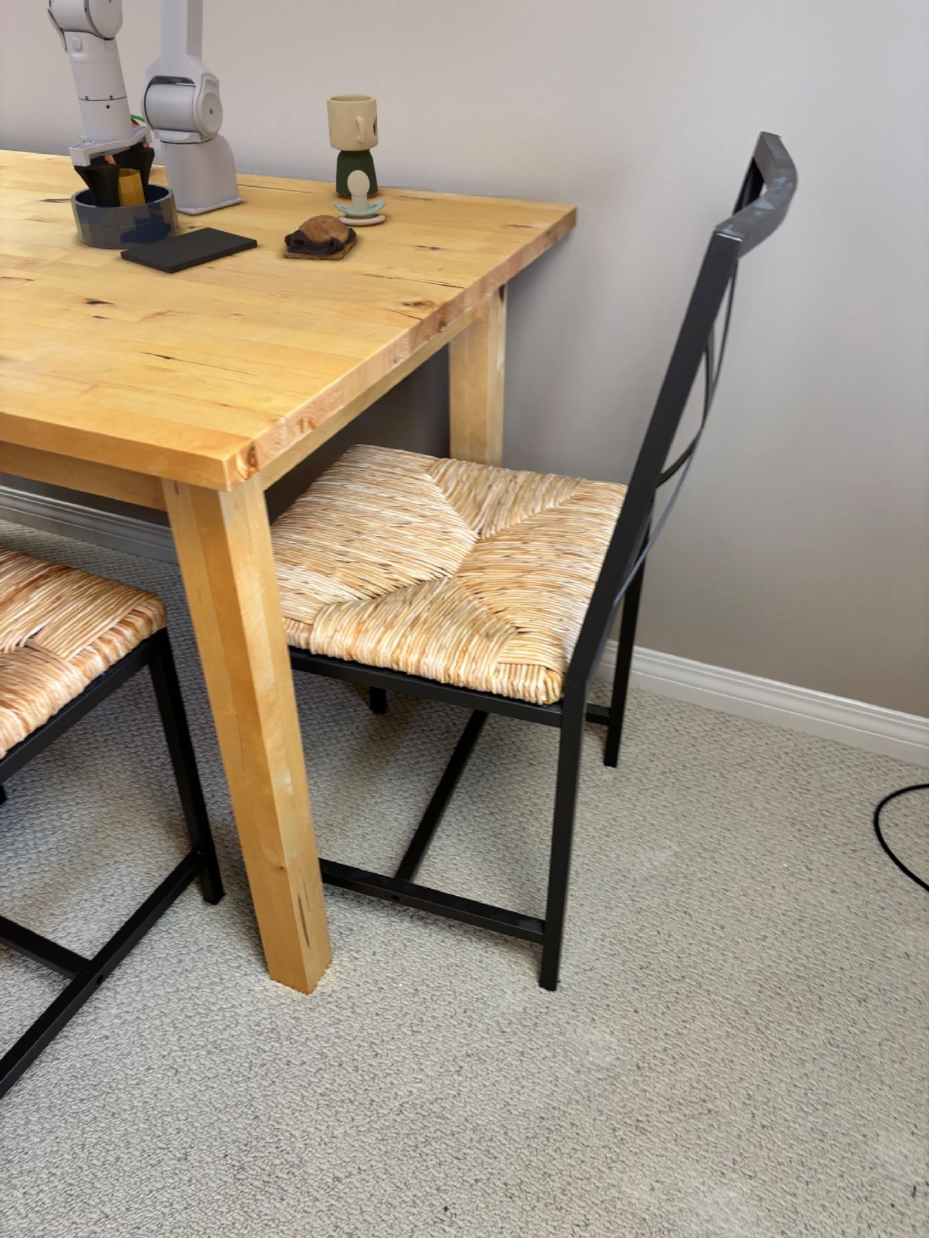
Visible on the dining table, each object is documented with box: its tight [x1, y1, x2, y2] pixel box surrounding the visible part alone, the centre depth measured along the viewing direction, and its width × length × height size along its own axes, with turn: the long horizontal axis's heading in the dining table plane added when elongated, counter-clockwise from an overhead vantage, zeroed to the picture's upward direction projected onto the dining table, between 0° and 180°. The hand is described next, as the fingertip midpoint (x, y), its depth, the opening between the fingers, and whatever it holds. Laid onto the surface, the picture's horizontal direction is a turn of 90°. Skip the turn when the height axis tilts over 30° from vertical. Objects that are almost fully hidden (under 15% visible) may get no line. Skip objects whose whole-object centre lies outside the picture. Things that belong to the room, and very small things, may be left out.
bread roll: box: [283, 214, 358, 261], centre depth 120 cm, size 11×8×4 cm
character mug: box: [326, 93, 379, 196], centre depth 137 cm, size 11×7×13 cm, turn 21°
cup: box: [118, 168, 146, 206], centre depth 122 cm, size 5×6×7 cm
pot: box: [70, 182, 181, 250], centre depth 123 cm, size 13×13×5 cm
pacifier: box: [332, 170, 387, 226], centre depth 128 cm, size 7×6×6 cm
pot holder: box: [119, 226, 258, 274], centre depth 119 cm, size 14×10×1 cm
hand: (126, 214), depth 123 cm, fingers closed on cup, 5 cm apart
